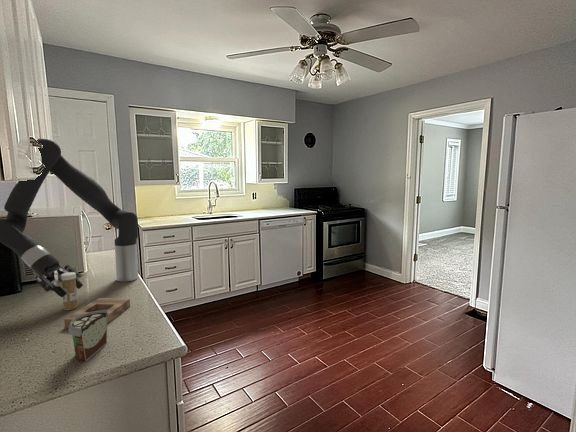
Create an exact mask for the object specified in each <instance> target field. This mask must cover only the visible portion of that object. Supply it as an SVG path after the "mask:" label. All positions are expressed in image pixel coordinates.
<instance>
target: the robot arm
mask: <svg viewBox="0 0 576 432" xmlns="http://www.w3.org/2000/svg"><path fill="white" fill-rule="evenodd" d="M37 139H38V140H37V141H38V142H39V143H41V144H42V145H43V148H42V149H41V148H38V149H39V151H40V153H41V156H42V162H43V164H44V165H45V167H46V169H45V170H44V171H43V172H42V174H41V175H40V176H38V177H37V178H36V179H35V180H27V181H19V180H18V181H17V183H16V184H15V185H14V186H13V188H12V190H11V192H10V193H9V195H8V198H7V199H6V202H5V204H4V207H3V209H4V210H5V211H6V212H7V214H6V218H0V243H1V244H2V245H4V246H6V247H7V248H9V249H11V250H12V251H13V252H14V253H15V254H16V255H17V256H18V257H19V258H21V260H22V261H23V262H24V263H25V265H26V266H28V268H29V269H31V270H32V271H33V272H34V273H35V274H36V275H37V276H38V277H37V278H35V282H37V284H38V285H40V287H41V288H43V290H44V291H45V292H49V291H52V292H54V293H55V294H56V295H58V296H59V297H60V298H63V297H64V296H65V295H66V294H67V292H66V291H64V290H63V289H62V286H60V285H59V282H62V280H61V274H63V273H67V272H75V273H76V289H78V290H79V289H81V288H82V287H83V286H84V285H83V282H81V281H80V280H79V279H78V276H79V275H80V273H78V272H77V271H76V270H75V269H74V268H73V267H71V266H70V265H69V264H66V265H65V266H63V267H62V266H60V261H59V260H58V259H57V258H56V257H55V256H54V255H53V254H51V253H50V252H49V251H48V250H47V249H46V248H45V247H43V246H42V245H41V244H40V243H38V241H37V240H36V239H34V238H33V237H32V236H30V235H26V234H24V231H25V229H26V226H27V222H28V221H27V220H28V214H29V211H30V209H31V207H32V205H33V202H34V201H35V199H36V196H37V194H38V192H39V191H40V189H41V186H42V185H43V183H44V181H45V179H46V178H47V176H48V174H49V173H51V174H53V175H54V176H55V177H56V178H57V179H58V180H60V181H61V182H62V183H63V184H64V186H65V187H67V188H68V189H69V190H70V191H71V192H73V194H74V195H76V196H77V197H78V198H79V199H81V200H82V201H83V202H85V203H86V204H87V205H88V206H90V207H91V208H93V210H95V211H97V212H98V213H99V214H100V215H101V216H102V217H103V218H104V219H105V220H106V221H107V222H108V223H109V224H110V225H111V226H112V227H113V228H115V229H116V230H118V236H117V237H116V238H115V239H114V254H115V255H114V257H115V271H116V272H115V274H116V276H115V277H116V281H117V282H121V283H122V282H123V283H125V282H132V281H135V280H137V279H138V277H139V264H138V262H139V260H138V259H139V258H138V249H137V245H138V244H137V240H138V237H139V219H138V216H137V214H136V213H134V212H133V211H129V210H123V209H121V208H120V207H119V206H117V205H116V204H115V203H114V202H113V201H112V200H111V199H110V198H109V196H108V194H107V193H106V191H105V189H104V188H103V187H102V186H101V184H99V183H98V182H97V181H96V180H95V179H93V178H92V176H90V175H89V174H87V173H85V172H84V171H82V170H81V169H79V168H78V167H76V166H75V165H74V164H72V163H70V162H69V161H68V160H67V159H66V158H65V157H64V156H63V155H62V149H61V147H60V145H59V144H58V143H57V142H55V141H53V140H51V139H47V138H37Z"/></svg>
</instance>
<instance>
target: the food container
mask: <svg viewBox="0 0 576 432" xmlns="http://www.w3.org/2000/svg"><path fill="white" fill-rule="evenodd" d="M107 316H109V315H108V312H107V310H99V311H93V312H89V313H85V314H83V315H80V316H78V317H76V318H75V319H73V320H72V321H71V324H70V326H69V328H68V334H69V335H71V336H72V342H73V349H74V353H75V357H76V358H75V359H76V360H78V361H79V362H83V363H84V362H87V361H88V360H90V359H91V358H92V357H93V356H94V355H95V354H97V353H98V352H99V351H100V350H101V349H102V348H103V347H104V346H106V345H107V344H108V324H107Z"/></svg>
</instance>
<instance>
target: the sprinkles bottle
mask: <svg viewBox="0 0 576 432" xmlns="http://www.w3.org/2000/svg"><path fill="white" fill-rule="evenodd" d="M61 285H62V286H61V288H62V289H63V290H64V291H66V292H67V294H66V295H65V296H64V297H62V301H63V302H62V303H63V311H64V310H65V311H71V310H75V309H77V308H78V307H79V304H78V290H77V289H78V288H76V273H75V272H67V273H63V274H61Z"/></svg>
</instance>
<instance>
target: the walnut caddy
mask: <svg viewBox="0 0 576 432" xmlns="http://www.w3.org/2000/svg"><path fill="white" fill-rule="evenodd" d="M130 307H131V299H130V298H114V297H113V298H111V297H107V298H106V297H98V298H96V299H94V301H92V302H90V303H89V304H87V305H85V306H84V307H82V308H80V309H78V310H77V311H76V312H73V313H72V314H70V315H69V316H67V317H65V318H64V319H63V323H64V329H69V326H70V324H71V321H72V320H73V319H75V318H76V317H78V316H80V315H83V314H85V313H89V312H93V311H99V310H107V312H108V315H109V316H107V325H108V324H109V323H111V322H112V321H114V320H115V319H116V318H117V317H119V316H120V315H122V313H123V312H125V311H126V310H128V309H129V308H130Z"/></svg>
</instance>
